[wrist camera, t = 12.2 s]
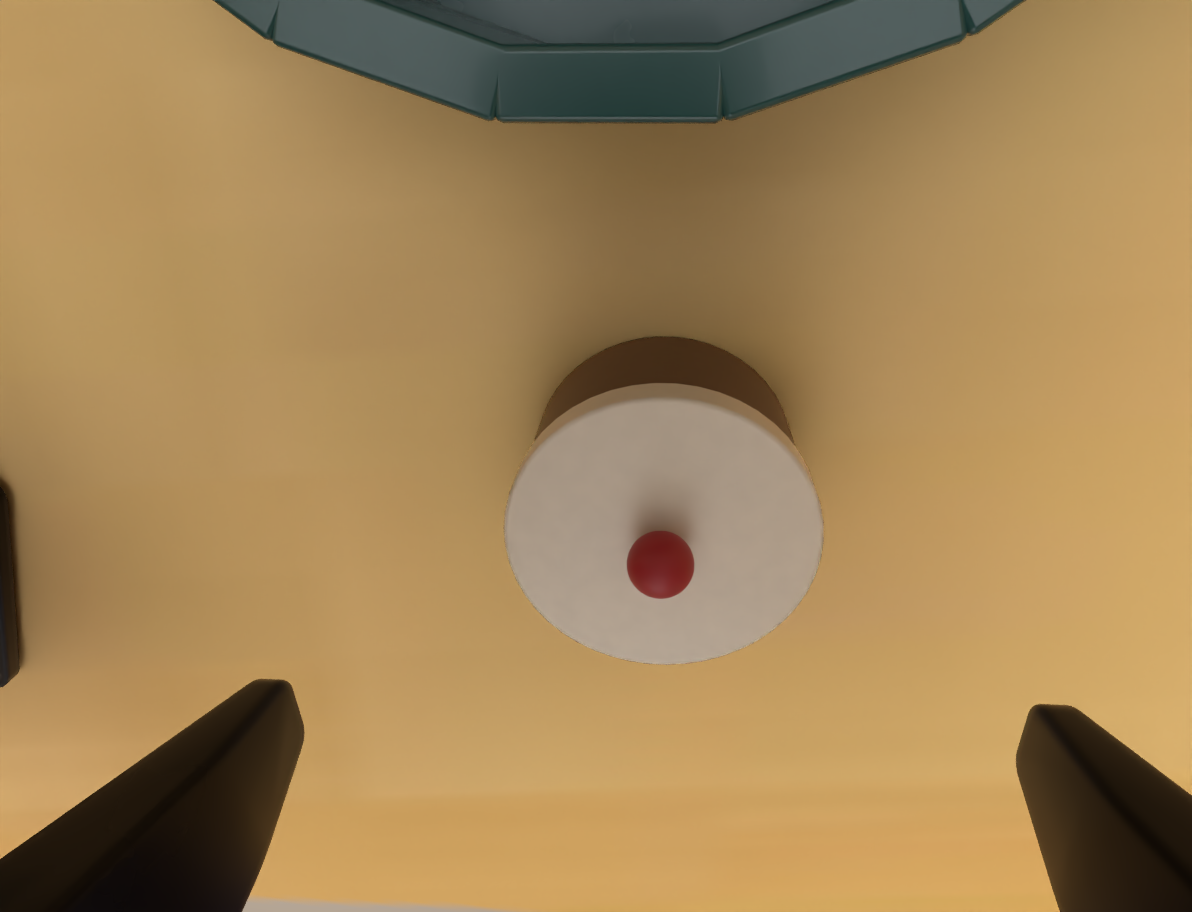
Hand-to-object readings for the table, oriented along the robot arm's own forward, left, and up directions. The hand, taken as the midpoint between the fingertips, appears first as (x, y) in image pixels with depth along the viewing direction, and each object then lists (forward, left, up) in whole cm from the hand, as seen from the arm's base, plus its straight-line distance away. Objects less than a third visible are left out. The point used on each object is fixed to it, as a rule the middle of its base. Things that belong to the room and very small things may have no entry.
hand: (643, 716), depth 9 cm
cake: (0, 0, -7) cm, 7 cm away
